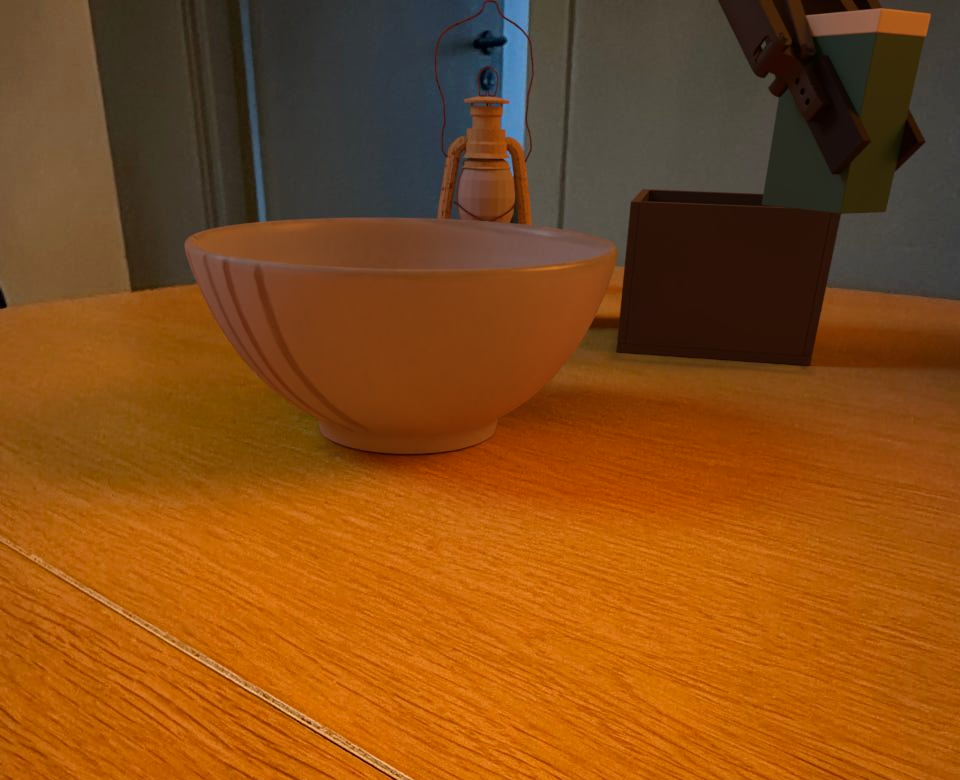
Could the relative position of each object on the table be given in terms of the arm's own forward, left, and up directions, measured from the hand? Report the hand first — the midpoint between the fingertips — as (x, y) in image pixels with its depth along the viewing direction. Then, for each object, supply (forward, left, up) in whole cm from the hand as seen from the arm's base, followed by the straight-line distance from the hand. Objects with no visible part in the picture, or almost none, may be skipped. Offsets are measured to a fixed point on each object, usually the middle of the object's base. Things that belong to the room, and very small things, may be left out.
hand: (878, 157), depth 57 cm
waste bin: (+8, -27, -17) cm, 33 cm away
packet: (+3, -3, -3) cm, 5 cm away
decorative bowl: (+29, +10, -17) cm, 35 cm away
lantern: (+36, -48, -17) cm, 62 cm away
